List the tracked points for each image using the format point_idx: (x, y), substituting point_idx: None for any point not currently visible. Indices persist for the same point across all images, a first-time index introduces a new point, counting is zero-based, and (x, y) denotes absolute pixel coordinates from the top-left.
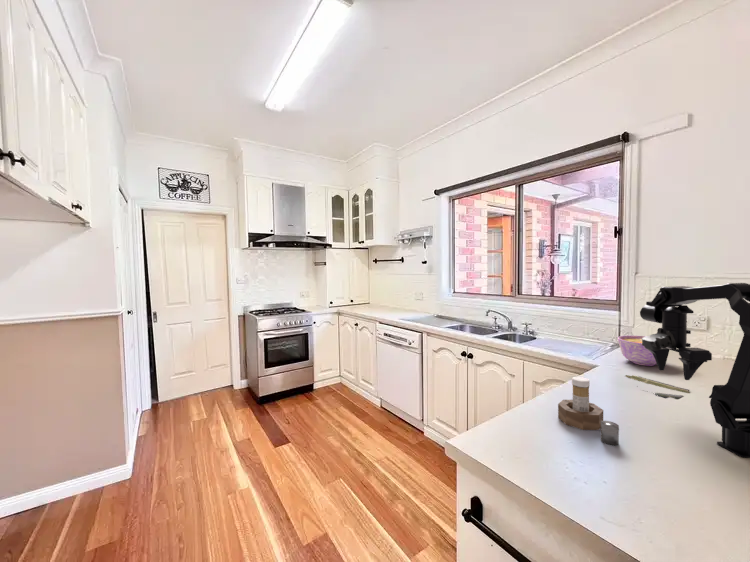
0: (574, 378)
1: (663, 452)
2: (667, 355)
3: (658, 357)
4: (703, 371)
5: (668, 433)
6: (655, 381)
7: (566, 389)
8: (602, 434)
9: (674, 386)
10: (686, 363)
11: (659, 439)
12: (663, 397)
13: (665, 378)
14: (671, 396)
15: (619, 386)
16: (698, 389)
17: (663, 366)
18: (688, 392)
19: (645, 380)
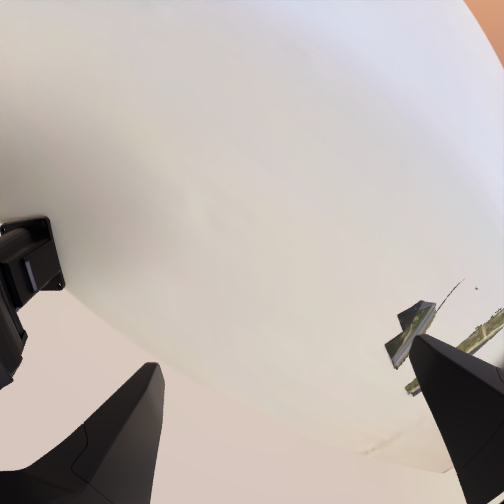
0: None
1: (13, 46)
2: (457, 468)
3: (490, 403)
4: None
5: (96, 107)
6: (473, 350)
7: (471, 27)
8: None
9: None
10: (12, 473)
11: (62, 59)
12: (405, 313)
13: None
14: (403, 339)
15: (491, 233)
16: (411, 411)
17: (423, 376)
18: (407, 388)
19: (486, 332)
